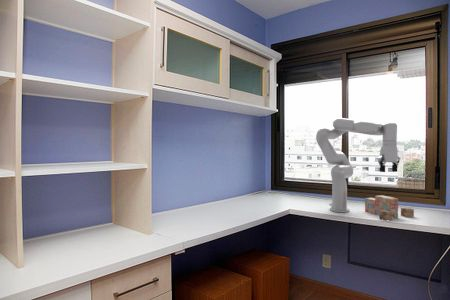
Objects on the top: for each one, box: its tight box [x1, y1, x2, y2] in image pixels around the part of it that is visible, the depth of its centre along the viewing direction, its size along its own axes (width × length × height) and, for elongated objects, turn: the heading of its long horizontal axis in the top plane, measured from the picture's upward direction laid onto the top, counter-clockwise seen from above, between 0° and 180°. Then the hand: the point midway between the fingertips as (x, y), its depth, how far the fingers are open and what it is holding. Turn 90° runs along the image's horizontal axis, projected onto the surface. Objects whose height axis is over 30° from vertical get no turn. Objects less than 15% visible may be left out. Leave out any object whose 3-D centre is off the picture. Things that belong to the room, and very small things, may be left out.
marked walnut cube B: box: [400, 207, 415, 218], centre depth 188 cm, size 5×5×5 cm
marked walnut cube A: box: [379, 210, 393, 221], centre depth 180 cm, size 5×5×5 cm
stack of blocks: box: [364, 195, 399, 219], centre depth 193 cm, size 21×6×12 cm, turn 17°
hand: (388, 171), depth 179 cm, fingers open, 9 cm apart
